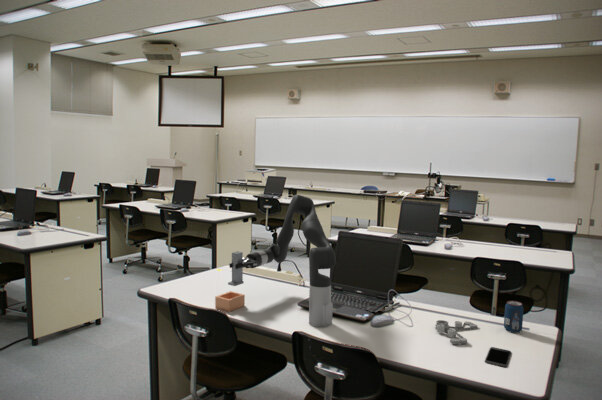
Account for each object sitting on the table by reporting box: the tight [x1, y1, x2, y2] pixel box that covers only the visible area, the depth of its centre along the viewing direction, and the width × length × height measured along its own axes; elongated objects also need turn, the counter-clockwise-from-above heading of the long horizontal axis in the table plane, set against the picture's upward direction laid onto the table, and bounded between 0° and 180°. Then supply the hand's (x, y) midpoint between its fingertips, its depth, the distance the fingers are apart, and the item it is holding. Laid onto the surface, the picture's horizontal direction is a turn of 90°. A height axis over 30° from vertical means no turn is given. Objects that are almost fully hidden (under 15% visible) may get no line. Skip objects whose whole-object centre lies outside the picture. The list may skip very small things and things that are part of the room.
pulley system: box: [434, 319, 478, 345], centre depth 180 cm, size 27×5×15 cm
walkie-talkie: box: [383, 302, 401, 312], centre depth 207 cm, size 9×4×20 cm
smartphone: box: [484, 346, 512, 369], centre depth 157 cm, size 7×15×1 cm, turn 148°
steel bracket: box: [227, 251, 245, 287], centre depth 204 cm, size 4×6×15 cm
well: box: [214, 290, 246, 313], centre depth 204 cm, size 9×10×6 cm
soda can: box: [503, 300, 524, 334], centre depth 181 cm, size 7×7×12 cm
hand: (233, 266), depth 203 cm, fingers closed on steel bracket, 3 cm apart
